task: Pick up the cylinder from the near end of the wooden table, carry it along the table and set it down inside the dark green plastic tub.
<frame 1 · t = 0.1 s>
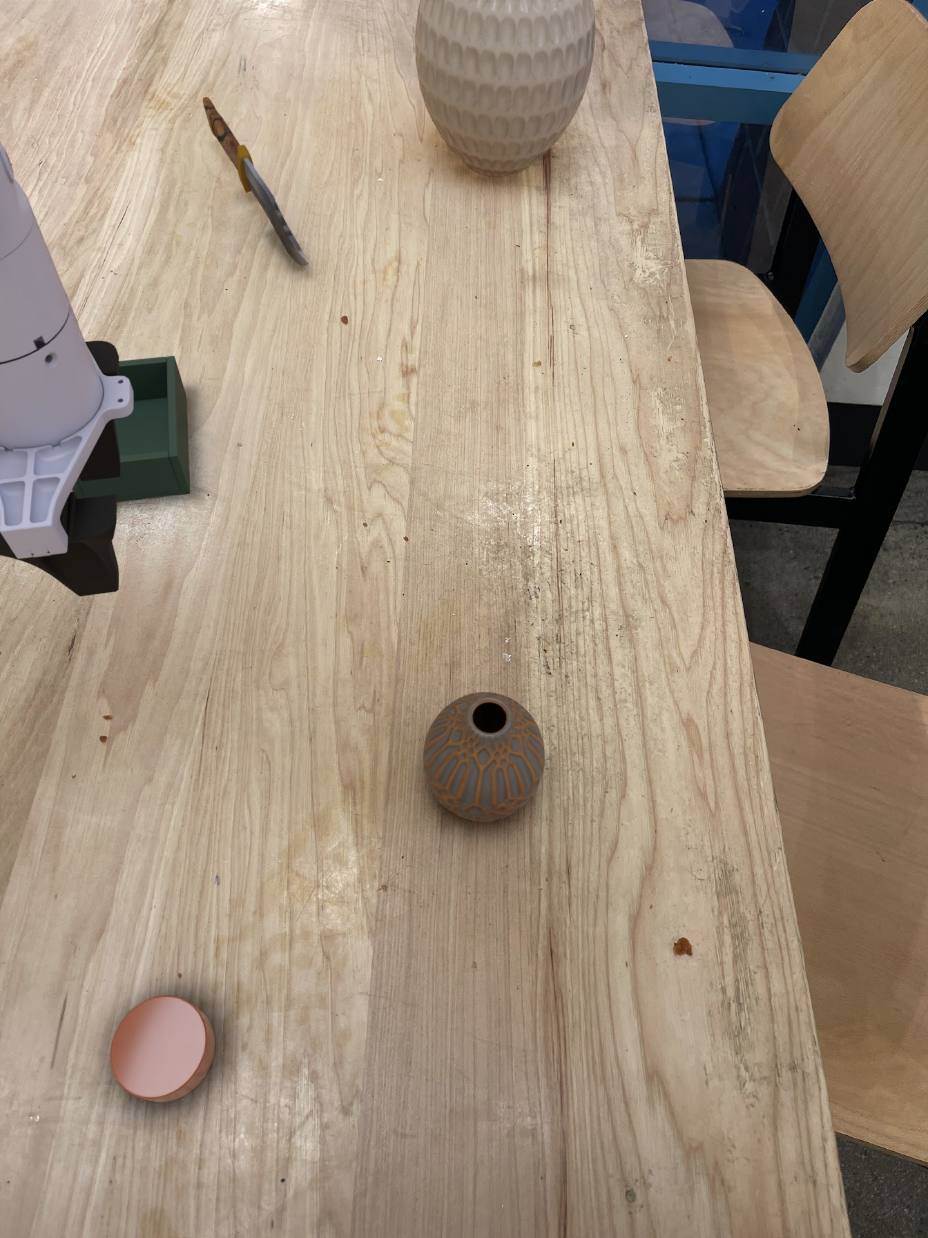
hand: (99, 529, 47), 13 cm above the table, tool pointing down, fingers open, 7 cm apart
vase: (480, 781, 53), on the table
knife: (260, 213, 83), on the table
vase 2: (496, 159, 89), on the table
cylinder: (169, 1051, 45), on the table
tub: (135, 448, 66), on the table
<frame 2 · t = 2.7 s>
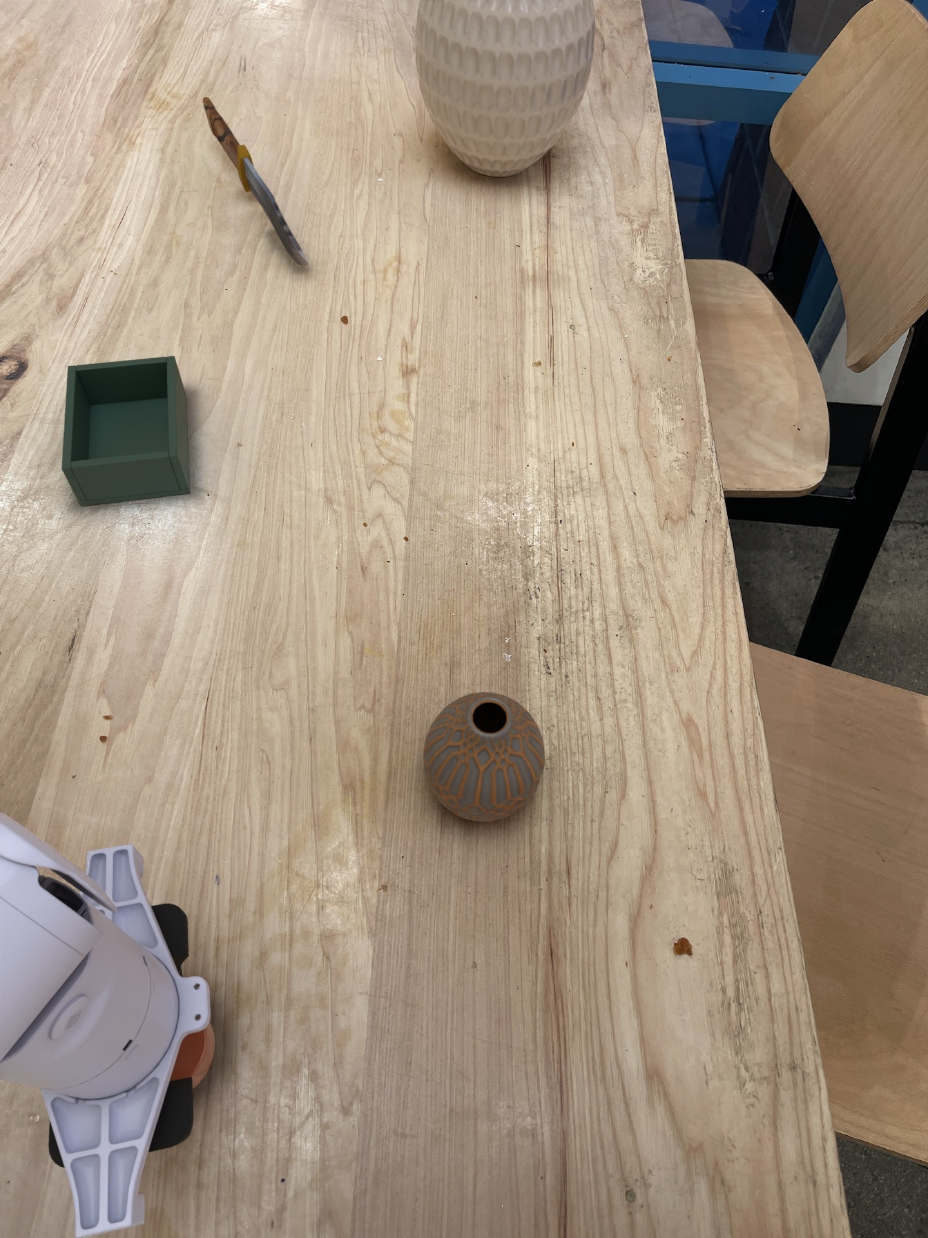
hand: (162, 1047, 44), 1 cm above the table, tool pointing down, fingers closed on cylinder, 4 cm apart
cylinder: (169, 1050, 45), on the table, touching gripper
everything else where it was.
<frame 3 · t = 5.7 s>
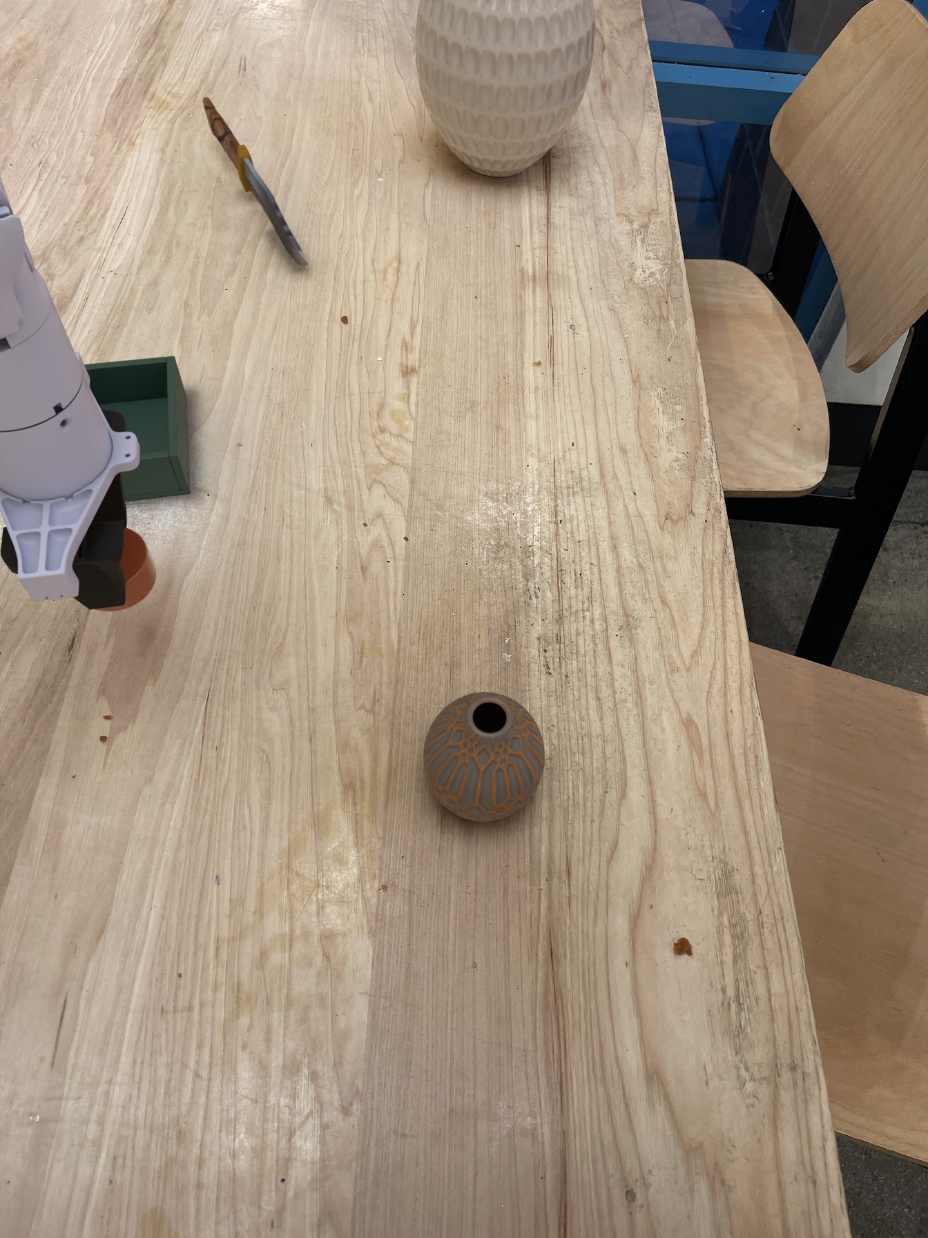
hand: (107, 565, 50), 8 cm above the table, tool pointing down, fingers closed on cylinder, 4 cm apart
cylinder: (116, 579, 52), point 7 cm above the table, touching gripper
everything else where it was.
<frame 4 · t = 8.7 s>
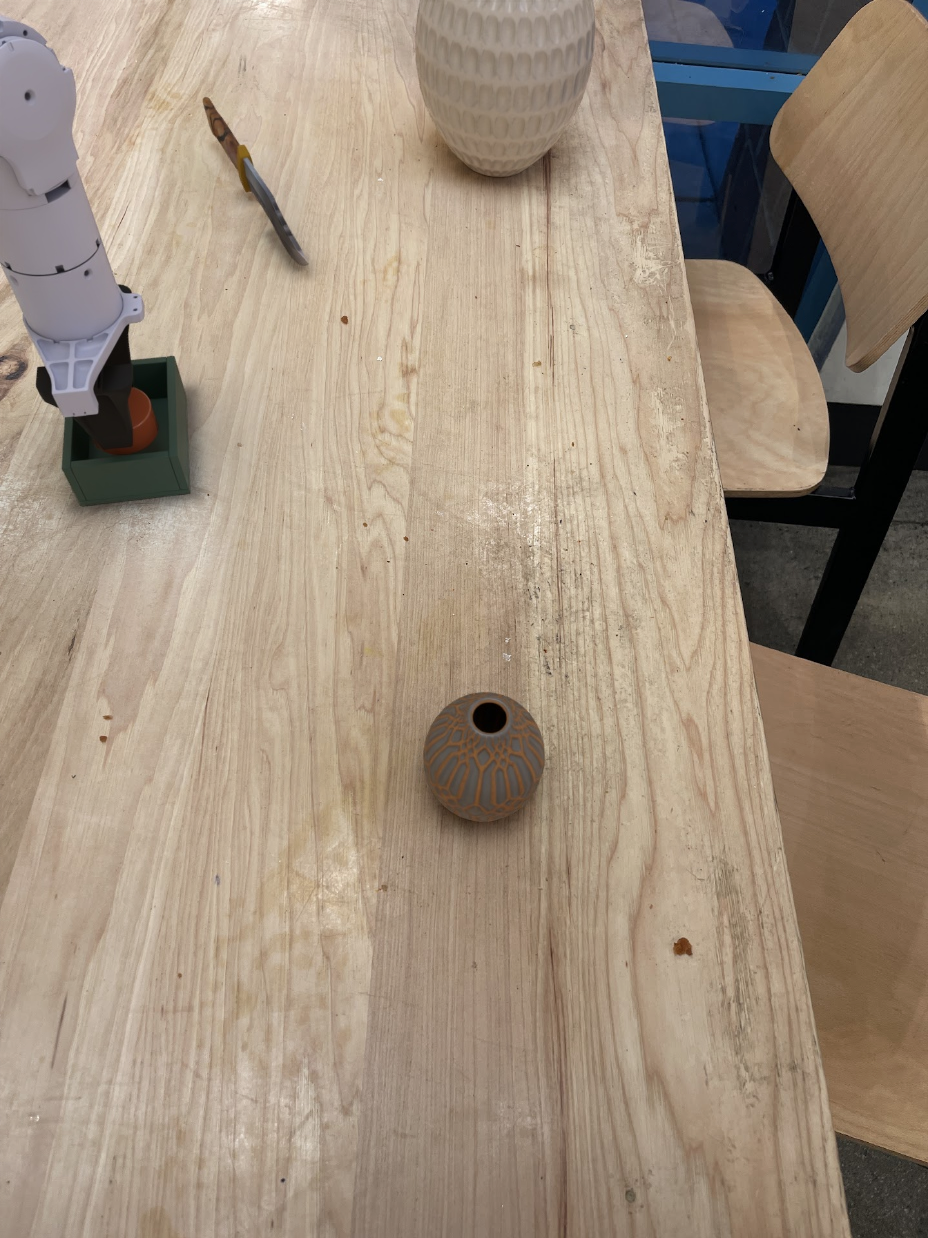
hand: (118, 418, 62), 5 cm above the table, tool pointing down, fingers closed on cylinder, 4 cm apart
cylinder: (125, 431, 63), point 3 cm above the table, touching gripper
everything else where it was.
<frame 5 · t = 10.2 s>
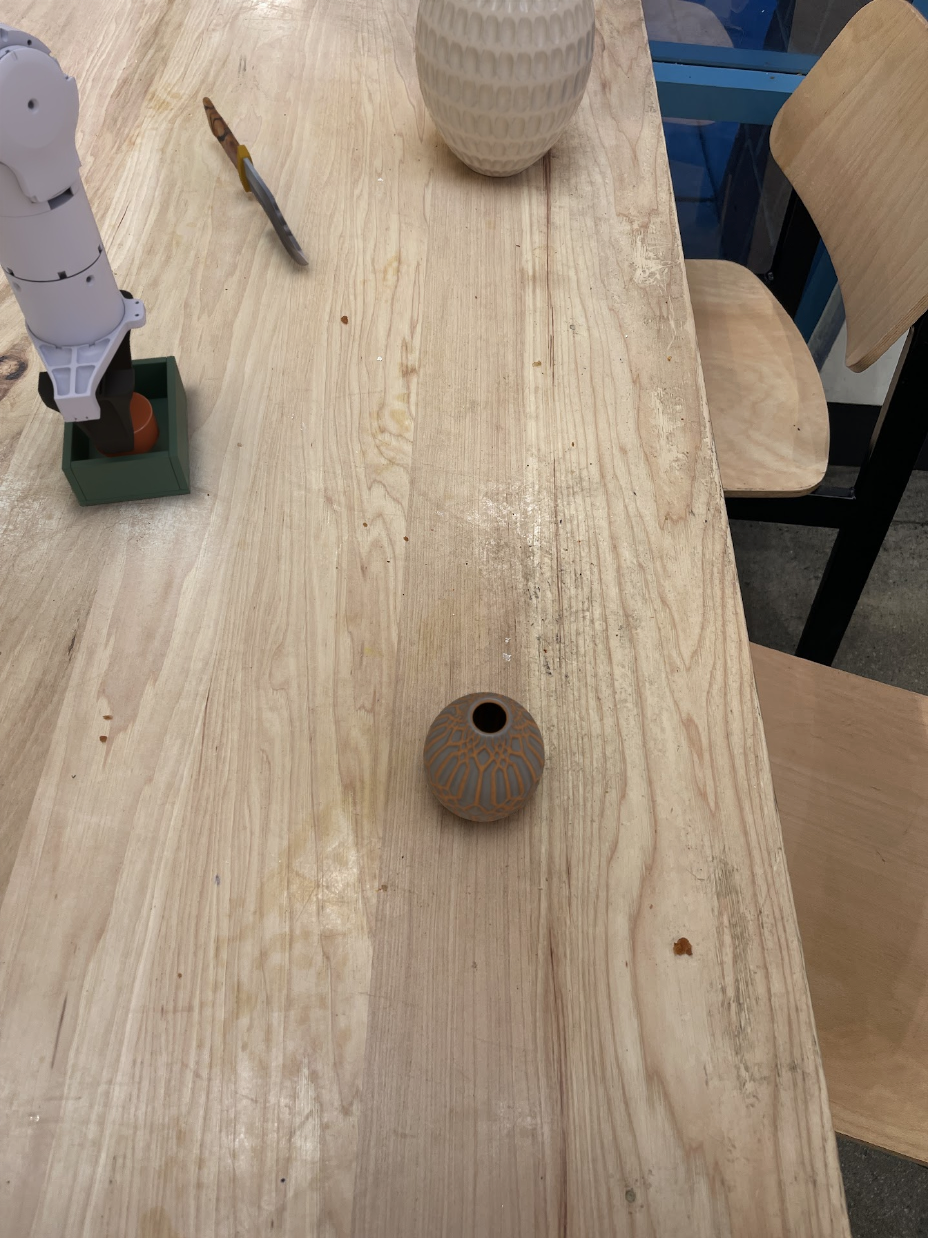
hand: (119, 422, 62), 4 cm above the table, tool pointing down, fingers closed on cylinder, 4 cm apart
cylinder: (126, 435, 63), point 3 cm above the table, touching gripper
everything else where it was.
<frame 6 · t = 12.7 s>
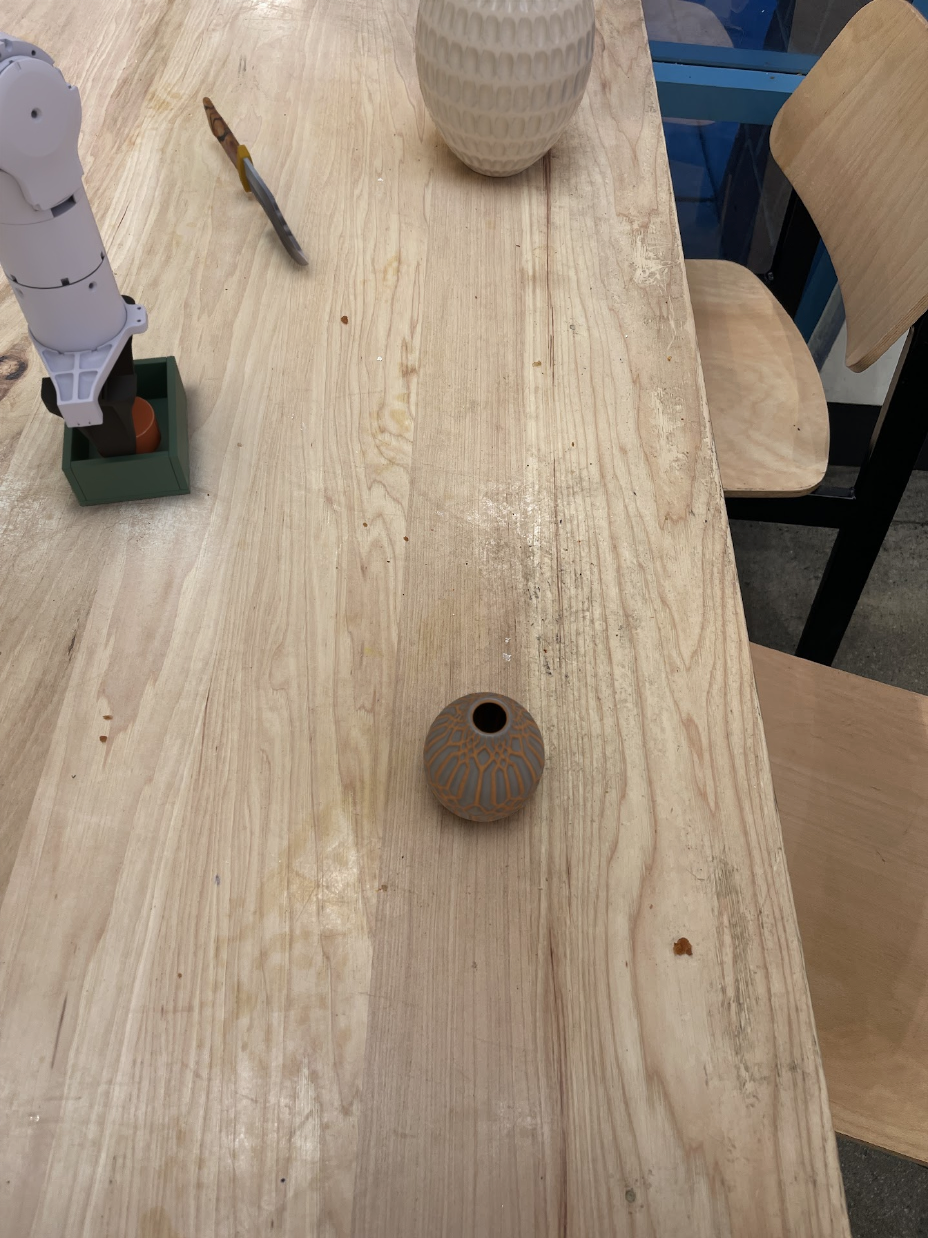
hand: (121, 426, 62), 4 cm above the table, tool pointing down, fingers closed on cylinder, 4 cm apart
cylinder: (129, 439, 64), point 2 cm above the table, touching gripper
everything else where it was.
when the fingers open (5 cm above the table, at t = 14.7 s): cylinder drops 3 cm, resting on tub.
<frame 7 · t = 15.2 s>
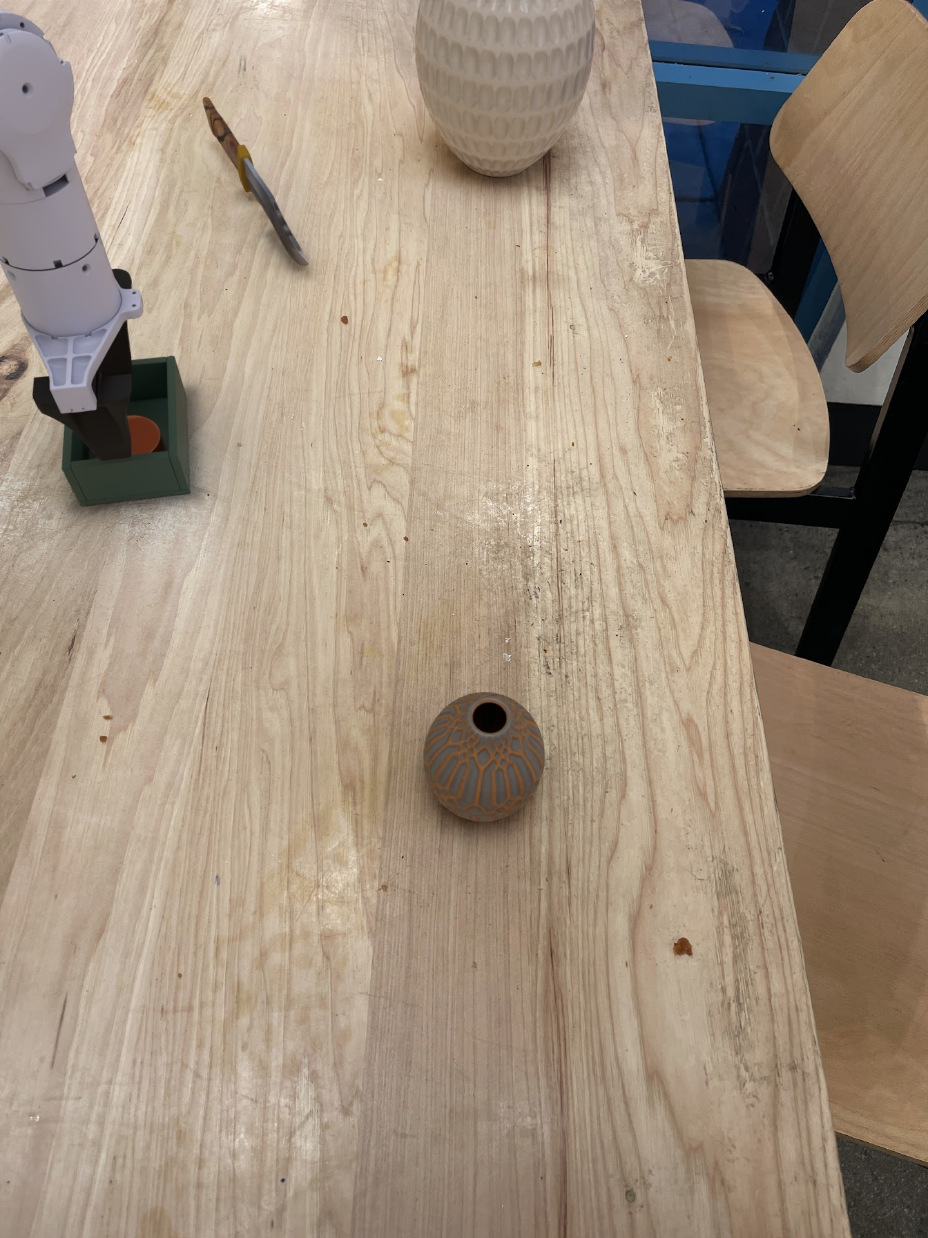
hand: (116, 414, 61), 5 cm above the table, tool pointing down, fingers open, 7 cm apart
cylinder: (136, 458, 65), resting on tub
everything else where it was.
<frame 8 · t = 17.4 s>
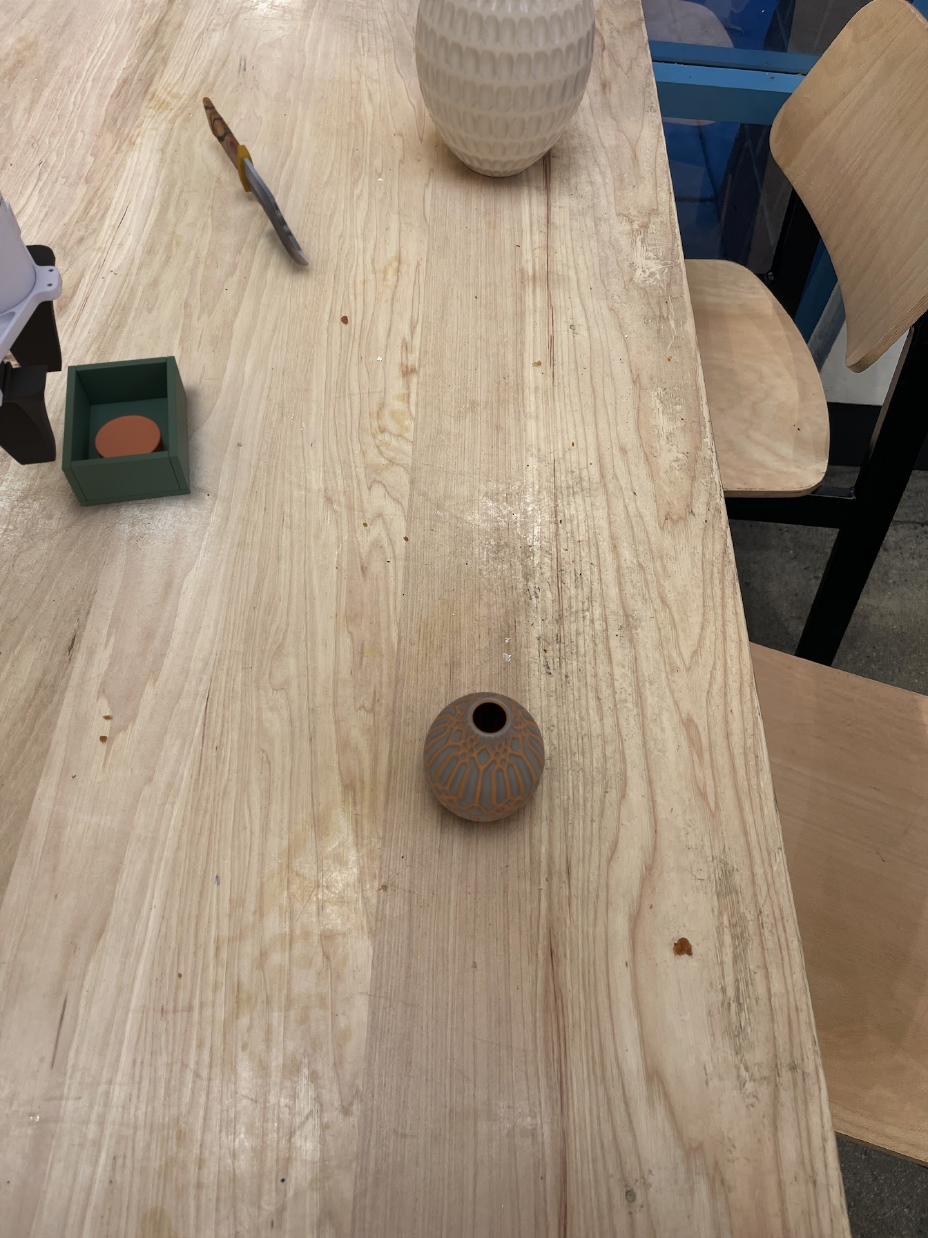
hand: (42, 412, 54), 10 cm above the table, tool pointing down, fingers open, 7 cm apart
nothing on the table moved.
at the end: cylinder inside the target area in the tub (1.6 cm from its centre), point 0.5 cm above the tub's base; the gripper is holding nothing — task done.
